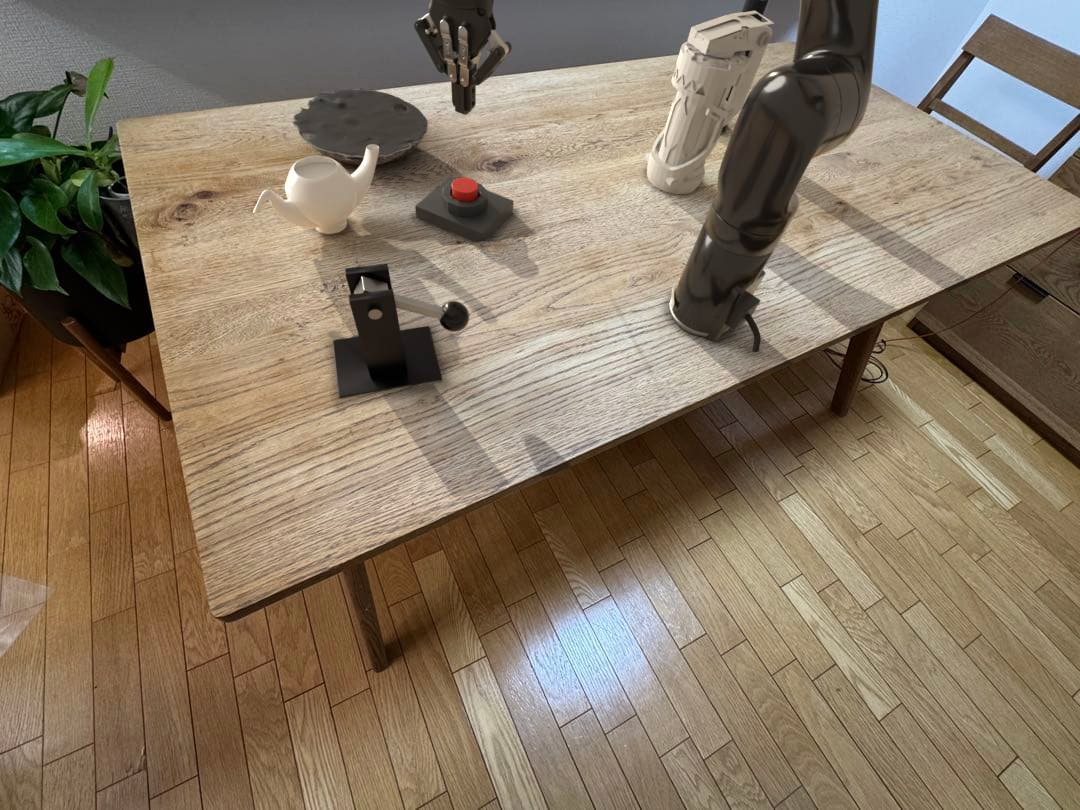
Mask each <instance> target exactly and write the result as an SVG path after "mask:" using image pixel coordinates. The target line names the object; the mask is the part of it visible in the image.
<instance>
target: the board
mask: <svg viewBox="0 0 1080 810" xmlns="http://www.w3.org/2000/svg"><path fill="white" fill-rule="evenodd" d="M307 107H308V108H304V107H300V112H298V113H296V114H294V115H293V121H292V125H293V126H294V127H295V128H296V130H297V131H298V133H299V136H300V137H301V138H302V140H304V141H305V142H306V143H307V144H309V145H310V146H311V147H312V148H314V150H316V151H318V152H319V153H320V154H322V155H323V156H325V157H329V158H331V159H334V160H335V161H337V162H338V163H340V164H349V165H353V166H360V165H361V163H362V161H363V159H364V155H365V151H366V147H367V146H368V145H370V144H375V145H377V146H378V147H379V154H378V158H377V163H376V165H383V164H385V163H387V162H393V161H400V160H402V159H403V158H404V156H405V155H409V154H411V153H412V152H413V151H414V150H415V149H417V147H418V146H419V145H420V143H421V142H423V140H424V138H425V136H427V133H428V130H429V123H428V118H426V115H424V114H423V113H422V111H421V110H420V109H419V108H418V107H416V106H415V105H414V104H412V103H410V102H408V101H405V100H404V99H402V98H400V97H398V96H395V95H393V94H390V93H388V92H382V91H378V90H376V89H374V90H373V89H368V88H367V89H366V88H351V89H346V88H338V89H335V90H334V91H332V92H328V91H327V92H326V91H325V92H320V93H318V94H317V95H315V96H314V97H313V98H311V99H309V101H308V102H307Z"/></svg>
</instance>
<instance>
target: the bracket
mask: <svg viewBox="0 0 1080 810" xmlns="http://www.w3.org/2000/svg"><path fill="white" fill-rule="evenodd" d="M344 275H345V278H346V282H347V286H348V290H349V293H350V294H348V296H347V297H348V302H349V305H350V310H351V313H352V318H353V322H354V323H355V328H356V332H357V335H358V336H353V337H346V338H338V339H333V340H332V348H333V357H334V358H333V359H334V366H335V375H336V382H337V392H338V394H337V395H338V398H339V399H340V398H346V397H351V396H352V397H353V396H357V395H364V394H369V393H375V392H381V391H386V390H387V391H388V390H392V389H399V388H404V387H409V386H415V385H421V384H427V383H431V382H437V381H442V380H443V378H442V374H441V370H440V366H439V362H438V358H437V354H436V350H435V345H434V342H433V338H432V337H433V336H432V333H431V330H430V326H429V325H426V326H420V327H419V326H418V327H413V328H405V329H401V327H400V321H399V315H398V310H397V309H398V308H396V304H395V298H394V294H395V293H394V289H393V286H392V281H391V274H390V270H389V265H388V263H379V264H369V265H362V266H353V267H352V266H351V267H345V268H344ZM362 276H363V277H367V278H370V279H374V280H377V281H381V282H384V283H387V285H388V290H382V291H374V292H367V293H359V294H354V291H355V289H356V287H357V285H358V283H359V281H360V279H361V277H362Z"/></svg>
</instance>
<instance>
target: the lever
mask: <svg viewBox="0 0 1080 810" xmlns="http://www.w3.org/2000/svg"><path fill="white" fill-rule="evenodd" d="M382 290H388V285H387V283H384V282H381V281H377V280H374V279H370V278H367V277H363V276H362V277H361V279H360V281H359V283H358V285H357V287H356V289H355V291H354V294H359V293H367V292H374V291H382ZM394 298H395V304H396V309H398V310H402V311H406V312H411V313H414V314H418V315H422V316H426V317H430V318H433V319H438V321H439V323H440V326H441V327H442V328H443V329H445V330H446V331H448V332H452V333H457V332H460V331H462V330H464V329H465V328H466V327H467V325H468V324H469V322H470V312H469V309H468V308H467V306H465V304H463V303H462V302H460V301H457V300H450V301H447V302H445V303H444V304H442V306H440V305H438V304H437V305H436V304H434V303H430V302H426V301H421V300H419V299H415V298H411V297H408V296H403V295H401V294H397V293H394Z"/></svg>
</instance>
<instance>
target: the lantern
mask: <svg viewBox="0 0 1080 810" xmlns="http://www.w3.org/2000/svg"><path fill="white" fill-rule="evenodd" d="M752 14H758V15H759V13H758V12H756V11H750V12H742V11H741V12H735V13H729V14H725V15H722V16H719V17H716V18H714V19H710V20H707V21H704V22H701V23H699V24H696V25H693V26H691V27H690V30H689V33H688V37H687V40H686V41H685V42H684V43H682V44H681V46H680V50H679V53H678V57H677V60H676V64H675V67H674V70H673V74H672V77H671V84H672V86H673V88H674V89H675V93H674V96H673V100H672V103H671V107H670V109H669V110H670V111H669V113H668V117H667V119H666V124H665V126H664V128H663V130H662V131H660V133H659V134H658V136H657V137H656V139H655V141H654V143H653V145H652V148H651V150H650V151H648V152H646V153H645V155H644V156H643V160H644V161H645V162H646V163H647V167H646V176H647V179H648V181H649V182H650V184H652V185H653V186H654V187H655V188H657V189H659V190H661V191H663V192H665V193H669V194H674V195H686V194H687V195H688V194H690V193H692V192H694V191H696V189H697V188H699V187H698V186H700V184H701V182H702V180H703V178H704V177H705V173H706V170H705V165H706V160H707V158H708V157H709V155H710V154H711V153H712V151H713V150H714V148H715V147H716V145H717V143H718V141H719V139H720V136H721V134H722V132H721V131H722V128H723V127H724V126H726V125H727V126H728V124H729V123H730V122H731V121H732V120H733V119H734V118H735V117H736V115H737V114H739V113H740V111H741V109H742V107H743V105H744V103H745V101H746V99H747V97H748V95H749V93H750V91H751V88H752V85H753V82H754V79H755V77H756V75H757V72H758V69H759V68H760V65H761V63H762V60H763V57H764V55H765V53H766V50H767V48H768V45H769V43H770V41H771V37H772V35H773V28H772V27H770V26H771V25H772V26H773V25H775V22H774V21H772V20H770V19H769V18H767V16H764V15H763V16H762V15H761V14H760V16H761V17H762V19H764V20H766V21H759V20H758V19H756V18H755V17H753V16H751V15H752ZM747 50H750V52H749V55H748V57H746V56H745V51H747ZM733 85H734V86H733ZM732 86H733V89H732V91H731V94H730V96H729V99H728V102H727V101H726V98H727V97H728V94H729V92H730V89H731V87H732Z"/></svg>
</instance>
